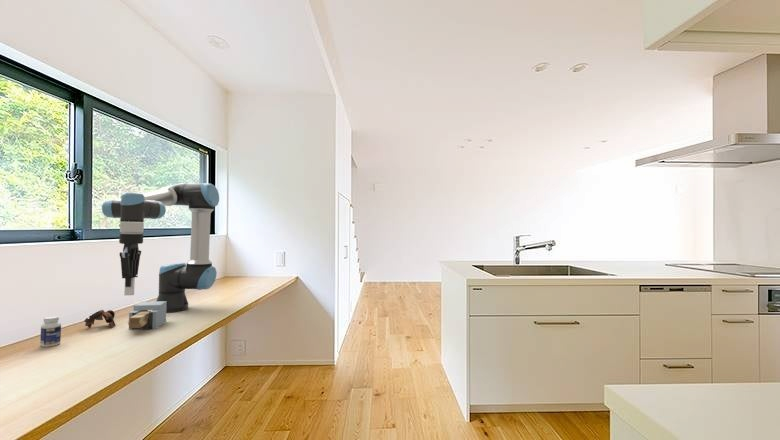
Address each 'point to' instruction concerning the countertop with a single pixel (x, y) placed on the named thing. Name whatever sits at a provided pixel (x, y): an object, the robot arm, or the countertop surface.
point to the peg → (139, 319)
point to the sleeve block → (151, 313)
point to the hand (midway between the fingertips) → (129, 295)
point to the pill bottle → (50, 332)
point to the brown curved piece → (98, 316)
